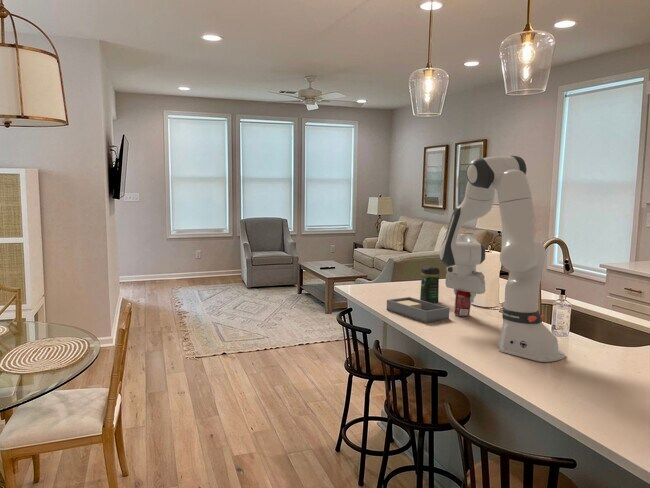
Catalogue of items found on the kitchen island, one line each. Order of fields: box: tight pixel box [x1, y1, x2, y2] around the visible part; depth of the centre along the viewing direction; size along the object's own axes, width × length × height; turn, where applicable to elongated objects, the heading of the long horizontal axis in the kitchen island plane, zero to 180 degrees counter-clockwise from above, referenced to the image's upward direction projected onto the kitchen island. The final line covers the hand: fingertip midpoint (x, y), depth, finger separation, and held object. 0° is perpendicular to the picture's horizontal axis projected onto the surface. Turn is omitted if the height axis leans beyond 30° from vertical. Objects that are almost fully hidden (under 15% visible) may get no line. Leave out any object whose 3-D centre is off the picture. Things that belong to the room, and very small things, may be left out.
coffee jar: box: [419, 265, 441, 304], centre depth 242 cm, size 10×8×19 cm
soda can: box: [453, 288, 472, 318], centre depth 217 cm, size 7×7×12 cm
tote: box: [386, 296, 450, 324], centre depth 219 cm, size 26×14×5 cm, turn 32°
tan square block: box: [398, 300, 421, 309], centre depth 224 cm, size 9×9×3 cm
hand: (464, 300), depth 216 cm, fingers closed on soda can, 6 cm apart
